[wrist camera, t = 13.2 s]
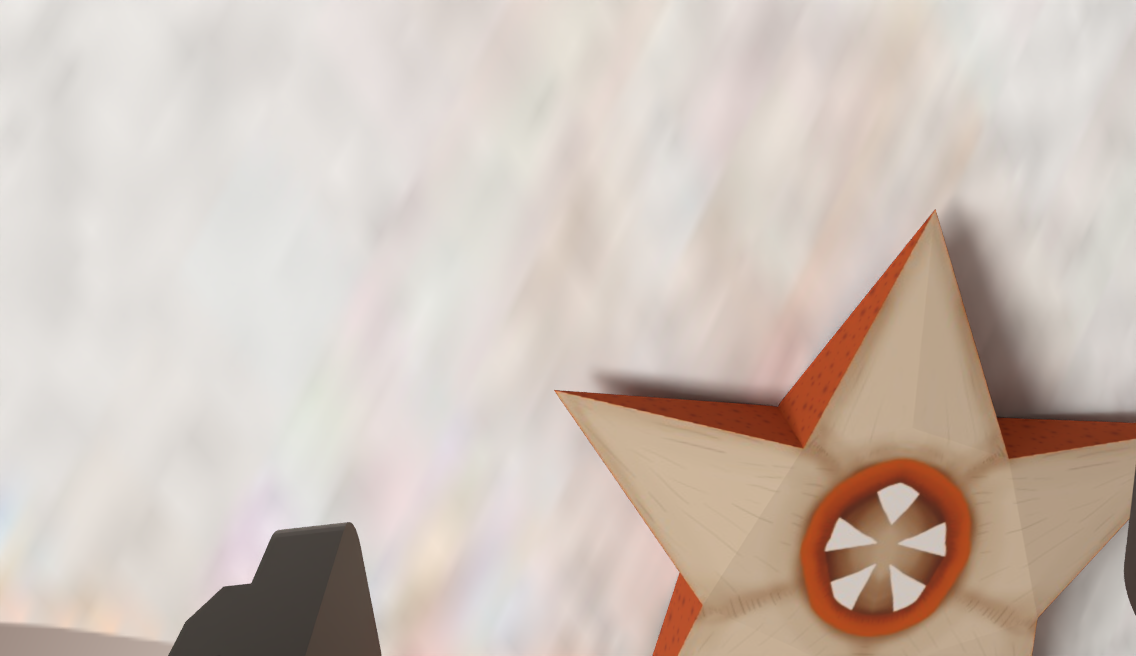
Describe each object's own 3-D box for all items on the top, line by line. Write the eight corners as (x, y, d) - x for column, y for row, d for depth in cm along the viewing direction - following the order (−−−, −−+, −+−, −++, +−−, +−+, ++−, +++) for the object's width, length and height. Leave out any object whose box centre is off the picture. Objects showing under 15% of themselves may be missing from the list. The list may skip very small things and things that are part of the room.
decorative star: (520, 835, 45) (574, 194, 35) (519, 768, 49) (568, 173, 39) (1110, 847, 47) (1319, 246, 37) (1064, 781, 51) (1243, 221, 41)
